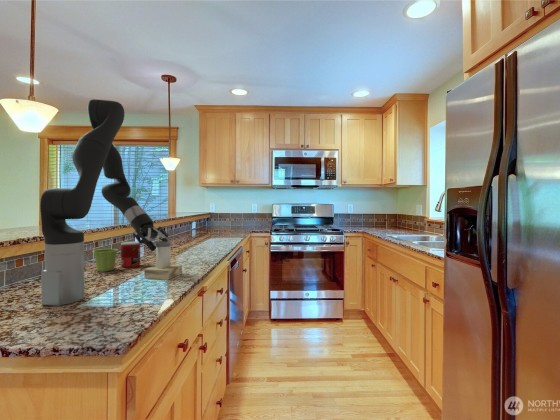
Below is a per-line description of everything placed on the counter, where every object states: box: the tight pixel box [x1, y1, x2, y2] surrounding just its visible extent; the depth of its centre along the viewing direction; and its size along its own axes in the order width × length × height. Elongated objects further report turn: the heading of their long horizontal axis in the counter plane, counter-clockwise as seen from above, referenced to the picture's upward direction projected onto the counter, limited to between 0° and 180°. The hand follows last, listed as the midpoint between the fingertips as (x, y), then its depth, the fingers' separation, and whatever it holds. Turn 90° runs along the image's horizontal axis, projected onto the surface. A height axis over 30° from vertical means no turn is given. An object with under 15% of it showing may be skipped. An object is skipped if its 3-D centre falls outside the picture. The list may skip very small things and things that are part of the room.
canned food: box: [120, 241, 141, 269], centre depth 129 cm, size 8×8×11 cm
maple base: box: [143, 264, 183, 281], centre depth 113 cm, size 10×10×4 cm
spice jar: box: [155, 240, 172, 269], centre depth 112 cm, size 6×6×10 cm
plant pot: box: [91, 248, 119, 273], centre depth 121 cm, size 9×9×9 cm
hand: (162, 248), depth 113 cm, fingers open, 8 cm apart
